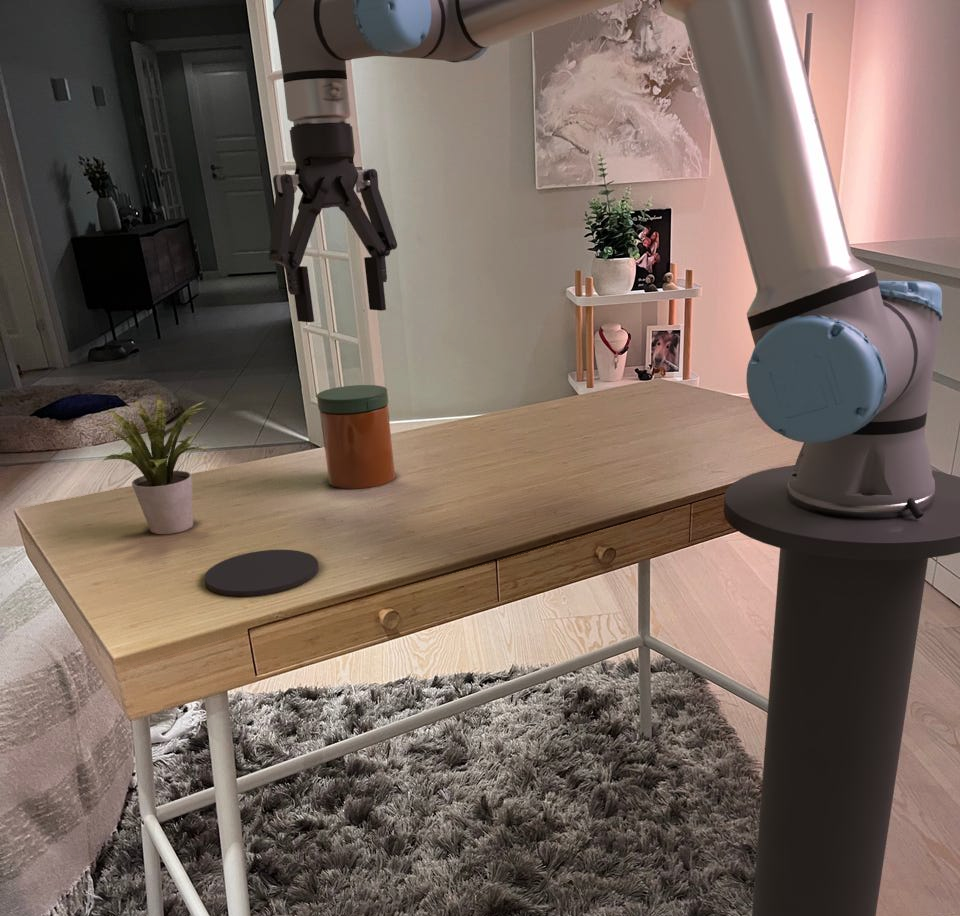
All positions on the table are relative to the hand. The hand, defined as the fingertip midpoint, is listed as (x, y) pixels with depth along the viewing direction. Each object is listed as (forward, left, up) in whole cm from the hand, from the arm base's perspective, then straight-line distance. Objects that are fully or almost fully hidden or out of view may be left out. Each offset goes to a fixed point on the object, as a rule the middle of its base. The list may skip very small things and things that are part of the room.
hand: (342, 315), depth 126 cm
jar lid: (0, 0, -10) cm, 10 cm away
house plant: (-4, +27, -22) cm, 35 cm away
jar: (0, 0, -22) cm, 22 cm away
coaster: (-26, +24, -22) cm, 42 cm away
